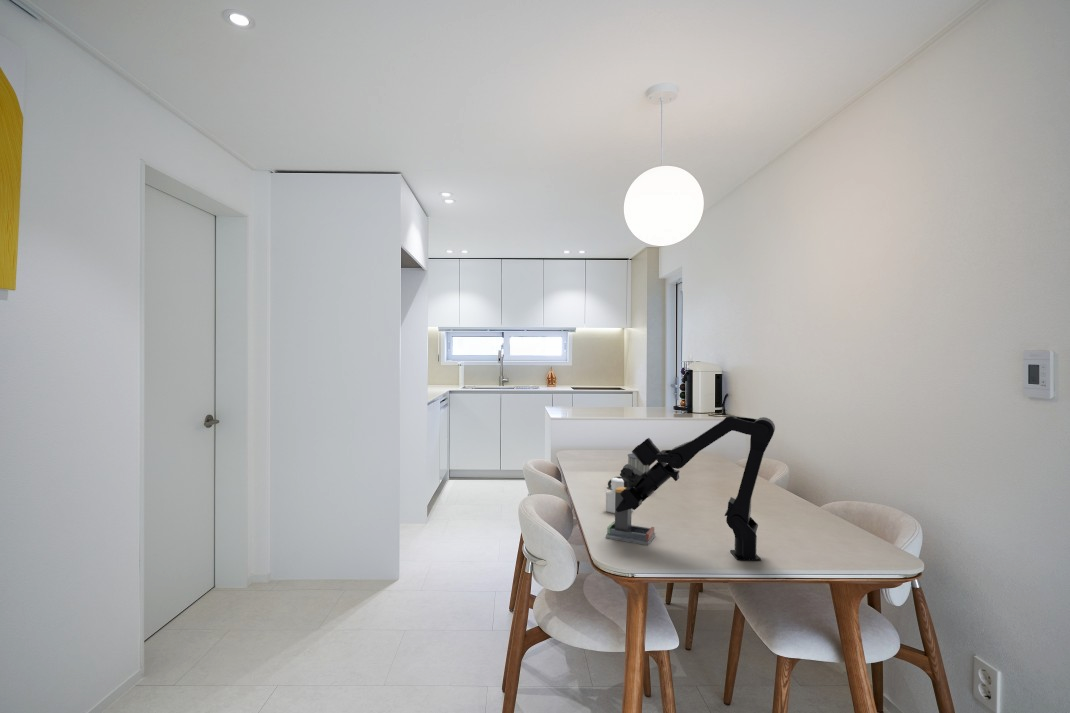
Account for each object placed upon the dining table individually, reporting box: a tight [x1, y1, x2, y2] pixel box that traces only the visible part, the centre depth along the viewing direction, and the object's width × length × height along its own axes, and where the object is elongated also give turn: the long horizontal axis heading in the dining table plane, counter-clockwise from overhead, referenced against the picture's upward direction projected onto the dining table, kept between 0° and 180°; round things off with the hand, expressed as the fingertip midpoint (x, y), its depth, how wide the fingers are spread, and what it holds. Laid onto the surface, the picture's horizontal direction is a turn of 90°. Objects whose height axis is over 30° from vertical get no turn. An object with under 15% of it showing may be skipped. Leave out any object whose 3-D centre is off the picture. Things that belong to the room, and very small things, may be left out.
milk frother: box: [607, 452, 651, 489], centre depth 223 cm, size 14×16×15 cm
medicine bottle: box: [605, 476, 634, 514], centre depth 194 cm, size 7×7×12 cm
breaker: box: [614, 487, 632, 531], centre depth 169 cm, size 4×4×13 cm
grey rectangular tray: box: [605, 520, 656, 546], centre depth 168 cm, size 13×9×3 cm
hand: (619, 509), depth 170 cm, fingers closed on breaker, 4 cm apart
